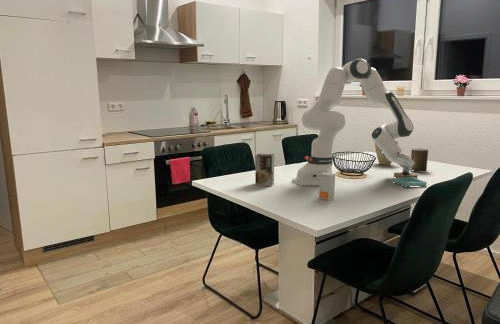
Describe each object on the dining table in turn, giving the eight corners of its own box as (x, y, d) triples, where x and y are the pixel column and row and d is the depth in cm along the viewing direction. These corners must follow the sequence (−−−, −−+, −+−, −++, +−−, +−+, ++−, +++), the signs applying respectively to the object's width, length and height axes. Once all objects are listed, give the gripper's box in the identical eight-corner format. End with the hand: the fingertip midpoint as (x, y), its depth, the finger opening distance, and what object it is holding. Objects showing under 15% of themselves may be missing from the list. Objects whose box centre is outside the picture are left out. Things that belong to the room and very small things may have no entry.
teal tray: (406, 187, 200) (406, 183, 200) (392, 182, 212) (393, 178, 211) (426, 186, 203) (426, 182, 202) (411, 181, 214) (412, 177, 214)
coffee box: (274, 183, 208) (274, 154, 205) (271, 186, 202) (272, 156, 199) (257, 182, 210) (258, 153, 207) (254, 185, 204) (255, 155, 201)
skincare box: (318, 198, 181) (319, 173, 178) (323, 196, 184) (324, 171, 181) (329, 200, 176) (330, 175, 174) (334, 199, 179) (335, 173, 177)
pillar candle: (427, 172, 237) (429, 148, 234) (410, 171, 240) (412, 147, 237) (425, 170, 246) (427, 146, 243) (409, 168, 249) (411, 145, 246)
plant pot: (380, 161, 273) (382, 139, 270) (400, 164, 262) (402, 141, 259) (368, 164, 264) (370, 140, 261) (388, 167, 252) (390, 143, 250)
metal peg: (404, 179, 218) (406, 159, 216) (400, 178, 221) (402, 157, 219) (409, 179, 219) (411, 158, 217) (406, 178, 222) (407, 157, 220)
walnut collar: (403, 181, 215) (403, 175, 214) (393, 177, 223) (394, 172, 223) (417, 180, 217) (417, 175, 216) (407, 176, 225) (407, 171, 225)
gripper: (408, 150, 205) (422, 167, 209) (386, 144, 225) (400, 160, 229) (400, 158, 205) (415, 176, 209) (379, 152, 225) (392, 168, 229)
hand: (407, 168), depth 219 cm, fingers open, 5 cm apart
